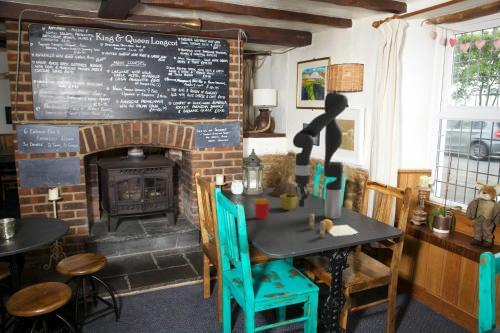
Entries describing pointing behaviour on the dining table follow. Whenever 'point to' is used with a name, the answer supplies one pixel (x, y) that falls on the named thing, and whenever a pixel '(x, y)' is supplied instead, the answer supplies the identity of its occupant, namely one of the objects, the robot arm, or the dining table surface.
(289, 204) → the flower pot
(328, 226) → the ball
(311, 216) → the left post
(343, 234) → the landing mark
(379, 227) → the dining table surface
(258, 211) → the french fries
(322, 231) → the right post
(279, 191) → the decorative dome
